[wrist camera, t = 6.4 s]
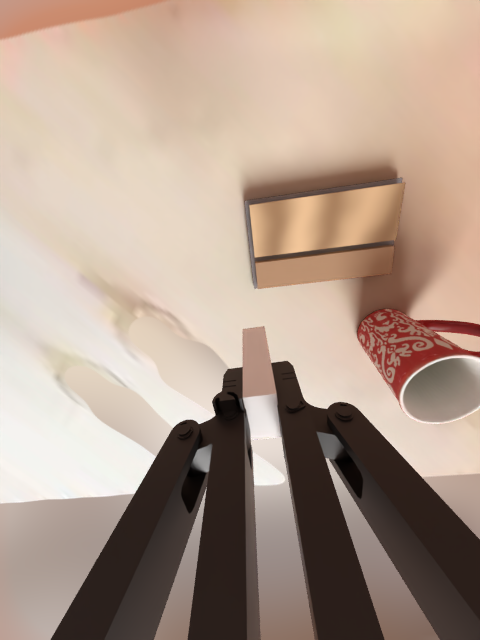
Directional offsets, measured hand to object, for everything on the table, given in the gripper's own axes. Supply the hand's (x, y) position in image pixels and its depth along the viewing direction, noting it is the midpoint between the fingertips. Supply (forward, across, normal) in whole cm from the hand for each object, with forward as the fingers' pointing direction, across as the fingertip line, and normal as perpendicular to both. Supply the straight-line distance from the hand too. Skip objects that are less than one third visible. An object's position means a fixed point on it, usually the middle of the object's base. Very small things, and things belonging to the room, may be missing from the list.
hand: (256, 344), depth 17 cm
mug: (+18, +20, -11) cm, 29 cm away
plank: (+17, +10, +6) cm, 20 cm away
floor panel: (+18, +10, +4) cm, 21 cm away
